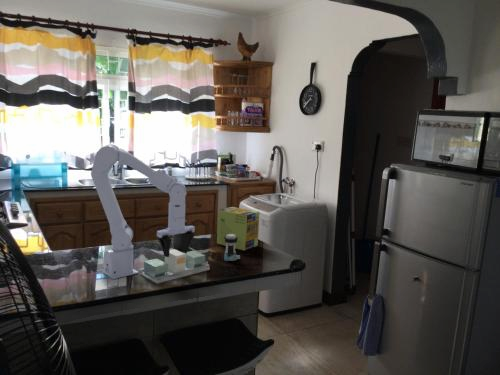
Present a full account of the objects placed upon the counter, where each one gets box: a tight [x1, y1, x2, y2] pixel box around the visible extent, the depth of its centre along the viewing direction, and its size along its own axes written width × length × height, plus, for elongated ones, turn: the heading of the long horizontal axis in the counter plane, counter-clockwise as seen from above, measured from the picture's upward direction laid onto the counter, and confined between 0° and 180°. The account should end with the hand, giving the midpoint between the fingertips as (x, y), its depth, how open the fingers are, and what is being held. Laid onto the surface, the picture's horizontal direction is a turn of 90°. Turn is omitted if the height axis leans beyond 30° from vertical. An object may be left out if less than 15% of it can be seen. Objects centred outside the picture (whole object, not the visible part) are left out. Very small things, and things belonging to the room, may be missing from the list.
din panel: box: [139, 250, 211, 284], centre depth 147 cm, size 22×11×5 cm, turn 134°
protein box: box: [216, 206, 260, 251], centre depth 184 cm, size 10×15×16 cm
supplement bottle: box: [171, 219, 190, 252], centre depth 174 cm, size 7×7×12 cm
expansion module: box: [164, 248, 186, 273], centre depth 147 cm, size 4×7×6 cm, turn 44°
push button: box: [223, 234, 241, 262], centre depth 163 cm, size 7×5×10 cm
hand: (175, 254), depth 147 cm, fingers open, 7 cm apart
